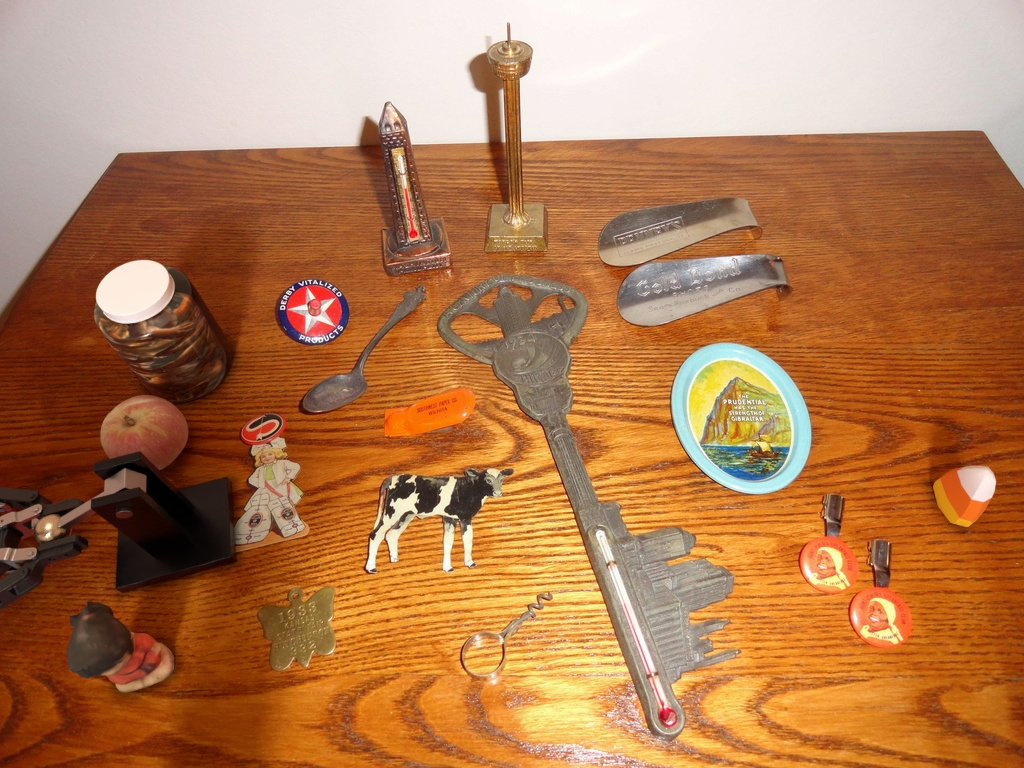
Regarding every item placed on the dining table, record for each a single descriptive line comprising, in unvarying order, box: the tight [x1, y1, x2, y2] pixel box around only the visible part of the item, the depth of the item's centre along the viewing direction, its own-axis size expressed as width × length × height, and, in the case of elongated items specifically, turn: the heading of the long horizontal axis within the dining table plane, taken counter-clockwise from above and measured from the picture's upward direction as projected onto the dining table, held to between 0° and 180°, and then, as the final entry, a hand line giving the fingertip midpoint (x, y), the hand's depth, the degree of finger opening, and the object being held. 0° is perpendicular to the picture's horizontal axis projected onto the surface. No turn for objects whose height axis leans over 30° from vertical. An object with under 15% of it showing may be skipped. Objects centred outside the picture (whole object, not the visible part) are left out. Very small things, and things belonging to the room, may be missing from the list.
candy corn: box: [932, 465, 997, 528], centre depth 72 cm, size 6×3×8 cm, turn 5°
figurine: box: [66, 600, 176, 693], centre depth 64 cm, size 6×6×12 cm
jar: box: [93, 259, 234, 403], centre depth 84 cm, size 12×12×15 cm
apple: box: [100, 394, 189, 471], centre depth 80 cm, size 9×9×8 cm
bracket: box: [90, 451, 237, 594], centre depth 71 cm, size 12×10×14 cm
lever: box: [33, 468, 146, 544], centre depth 68 cm, size 13×3×3 cm, turn 106°
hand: (84, 523), depth 70 cm, fingers closed on lever, 3 cm apart
